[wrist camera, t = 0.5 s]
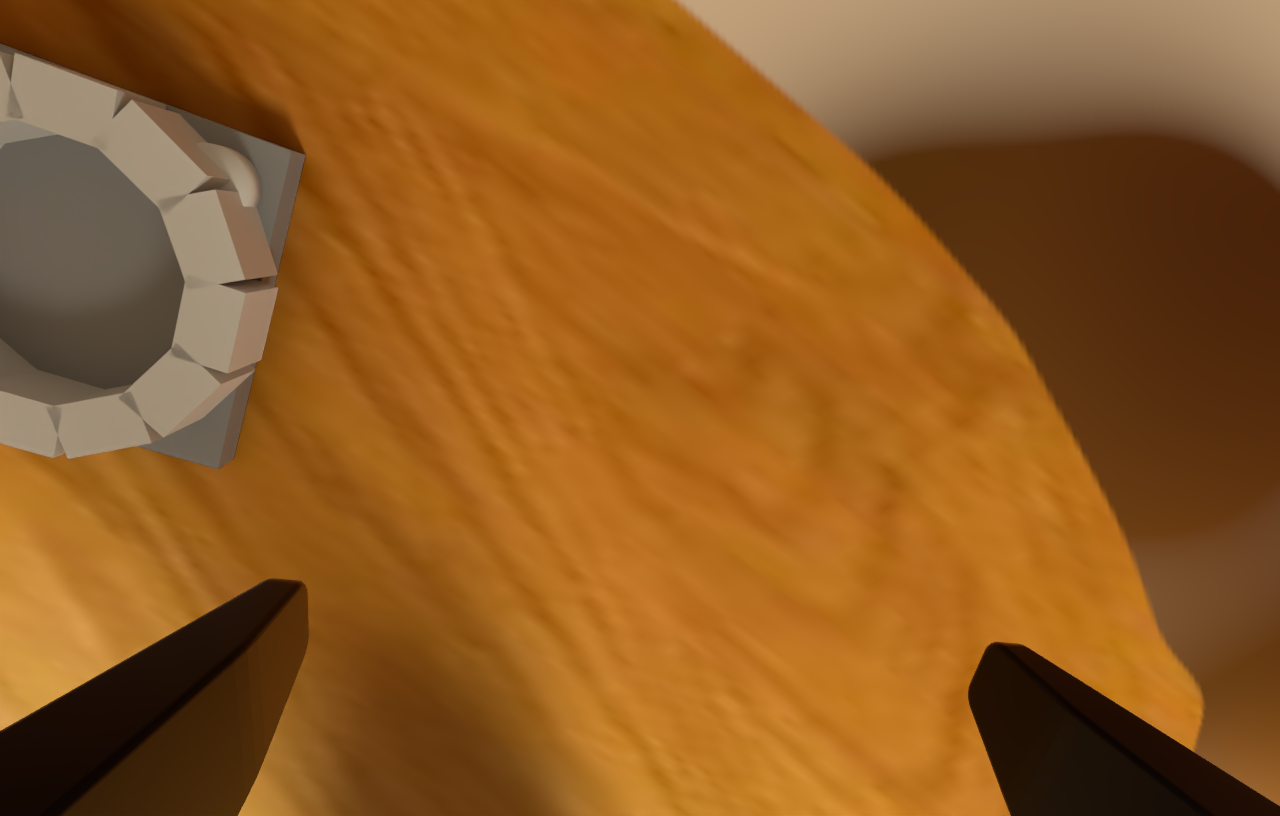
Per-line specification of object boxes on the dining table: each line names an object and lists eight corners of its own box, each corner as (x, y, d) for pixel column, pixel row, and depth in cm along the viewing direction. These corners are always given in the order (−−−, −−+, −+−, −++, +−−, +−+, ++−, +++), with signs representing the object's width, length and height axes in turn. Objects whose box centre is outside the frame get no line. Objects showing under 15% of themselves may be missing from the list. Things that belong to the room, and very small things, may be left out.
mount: (249, 463, 22) (199, 498, 19) (-90, 365, 20) (-201, 388, 17) (322, 161, 20) (278, 149, 17) (-49, 25, 18) (-168, -14, 15)
